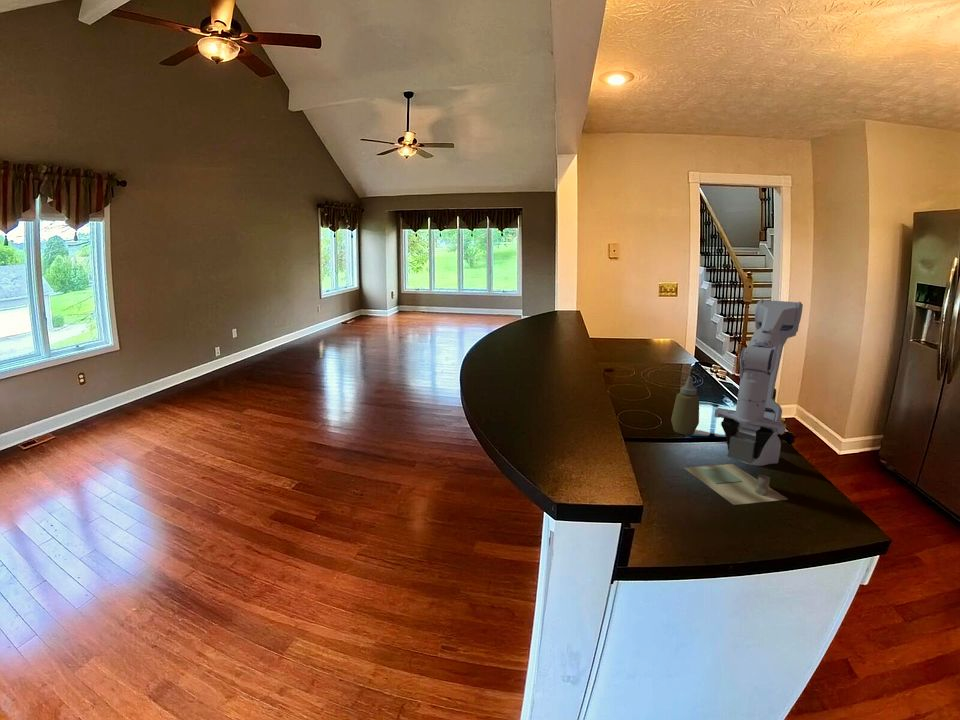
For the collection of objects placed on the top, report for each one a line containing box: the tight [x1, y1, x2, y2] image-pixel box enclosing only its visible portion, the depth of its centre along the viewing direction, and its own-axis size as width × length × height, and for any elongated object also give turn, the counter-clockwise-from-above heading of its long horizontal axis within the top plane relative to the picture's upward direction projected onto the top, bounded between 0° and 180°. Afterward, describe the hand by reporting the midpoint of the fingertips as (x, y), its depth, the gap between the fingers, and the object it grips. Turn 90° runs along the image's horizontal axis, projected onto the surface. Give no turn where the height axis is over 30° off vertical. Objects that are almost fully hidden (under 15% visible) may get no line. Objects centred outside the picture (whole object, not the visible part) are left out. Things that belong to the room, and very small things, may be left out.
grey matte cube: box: [727, 432, 756, 465], centre depth 110 cm, size 5×5×5 cm
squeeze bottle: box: [670, 375, 700, 436], centre depth 146 cm, size 8×8×18 cm
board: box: [684, 463, 789, 506], centre depth 113 cm, size 14×18×6 cm
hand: (743, 453), depth 110 cm, fingers closed on grey matte cube, 5 cm apart
